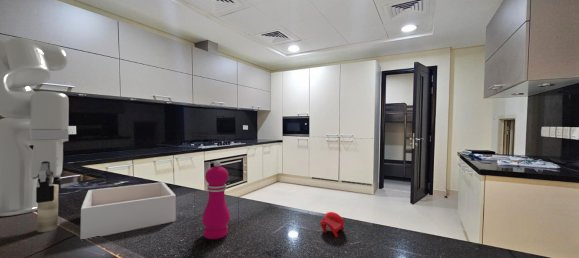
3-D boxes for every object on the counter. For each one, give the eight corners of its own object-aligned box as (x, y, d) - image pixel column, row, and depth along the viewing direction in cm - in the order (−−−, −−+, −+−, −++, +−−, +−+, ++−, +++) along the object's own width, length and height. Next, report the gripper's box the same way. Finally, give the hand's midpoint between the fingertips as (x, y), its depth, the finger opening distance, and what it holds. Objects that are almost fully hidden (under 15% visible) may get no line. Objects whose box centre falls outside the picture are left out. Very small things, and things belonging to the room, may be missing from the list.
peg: (39, 228, 66) (39, 185, 66) (58, 225, 68) (59, 183, 68) (35, 233, 62) (36, 188, 63) (56, 229, 65) (57, 186, 65)
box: (87, 214, 76) (88, 190, 76) (163, 202, 90) (163, 182, 90) (80, 240, 59) (81, 208, 59) (175, 221, 72) (175, 195, 72)
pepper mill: (221, 241, 59) (223, 163, 60) (196, 238, 61) (197, 162, 61) (234, 230, 67) (235, 159, 67) (210, 227, 68) (212, 158, 68)
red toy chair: (335, 230, 60) (348, 214, 63) (317, 216, 64) (331, 202, 67) (336, 245, 65) (349, 230, 68) (319, 232, 68) (332, 218, 71)
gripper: (38, 136, 70) (37, 193, 70) (20, 136, 56) (19, 208, 56) (72, 136, 74) (71, 190, 74) (63, 136, 61) (62, 202, 60)
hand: (49, 197), depth 65 cm, fingers open, 9 cm apart
